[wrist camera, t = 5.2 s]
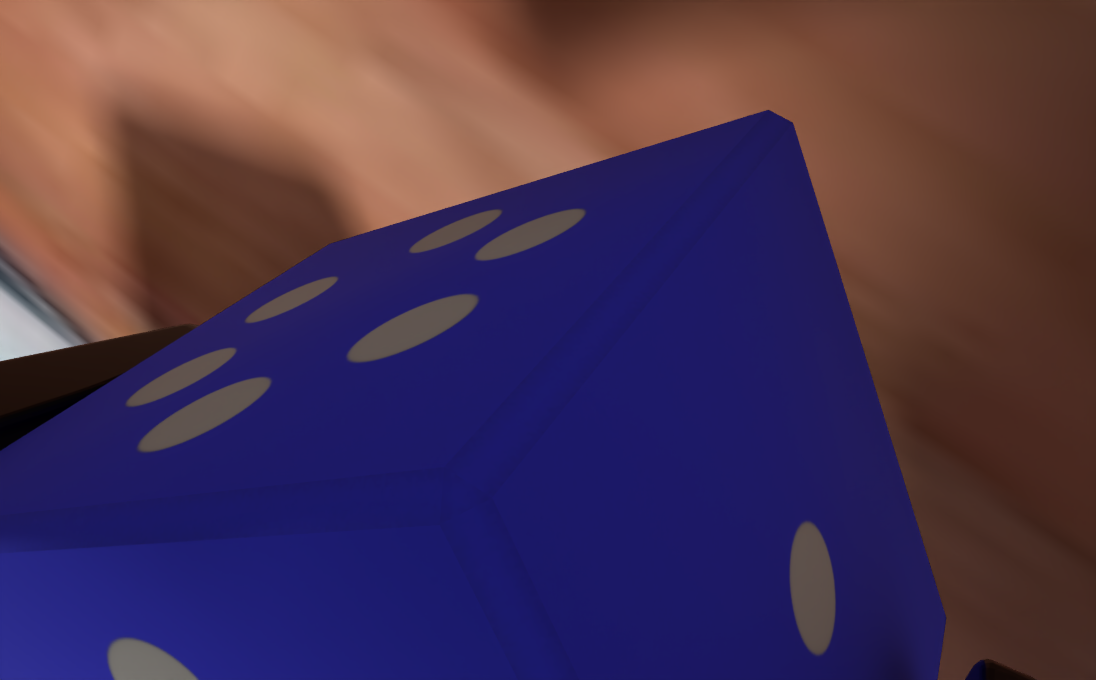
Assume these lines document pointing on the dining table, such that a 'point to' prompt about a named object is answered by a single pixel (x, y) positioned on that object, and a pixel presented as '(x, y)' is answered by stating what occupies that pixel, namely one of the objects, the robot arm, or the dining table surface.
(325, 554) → the die
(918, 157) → the dining table surface
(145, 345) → the robot arm
